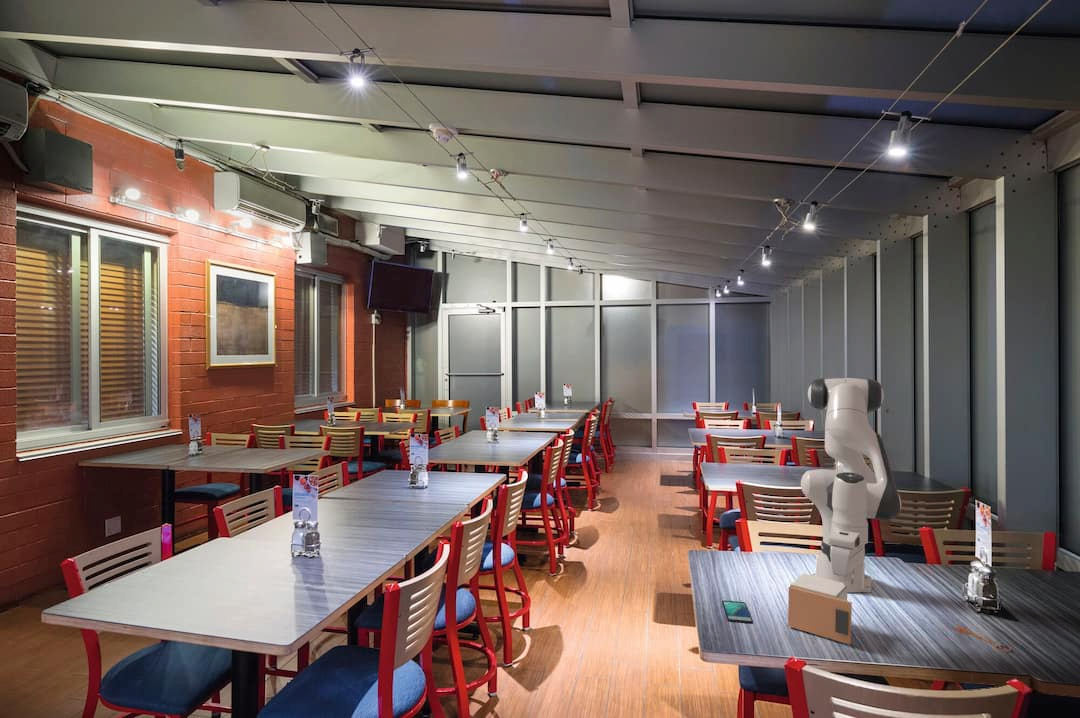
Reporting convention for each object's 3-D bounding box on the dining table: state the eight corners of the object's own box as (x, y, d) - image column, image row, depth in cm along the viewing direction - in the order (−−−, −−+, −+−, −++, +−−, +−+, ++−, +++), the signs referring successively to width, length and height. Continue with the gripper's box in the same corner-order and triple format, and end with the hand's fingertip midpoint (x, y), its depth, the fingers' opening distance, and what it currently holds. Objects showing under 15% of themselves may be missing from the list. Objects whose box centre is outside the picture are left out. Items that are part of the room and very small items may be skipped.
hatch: (789, 624, 169) (789, 586, 169) (850, 643, 158) (851, 602, 158) (787, 626, 168) (788, 587, 168) (849, 645, 157) (850, 603, 157)
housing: (802, 613, 178) (803, 573, 178) (846, 625, 170) (847, 583, 170) (789, 626, 169) (790, 584, 169) (835, 639, 161) (835, 595, 161)
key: (947, 630, 170) (996, 655, 156) (947, 627, 170) (996, 652, 156) (964, 627, 171) (1014, 652, 157) (964, 624, 171) (1014, 648, 157)
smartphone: (727, 620, 172) (721, 599, 186) (727, 623, 172) (721, 602, 186) (753, 622, 170) (745, 601, 185) (753, 625, 170) (745, 604, 185)
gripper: (846, 524, 171) (846, 572, 171) (826, 538, 156) (825, 591, 156) (871, 528, 167) (870, 578, 167) (852, 543, 152) (851, 598, 152)
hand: (848, 584), depth 161 cm, fingers closed
